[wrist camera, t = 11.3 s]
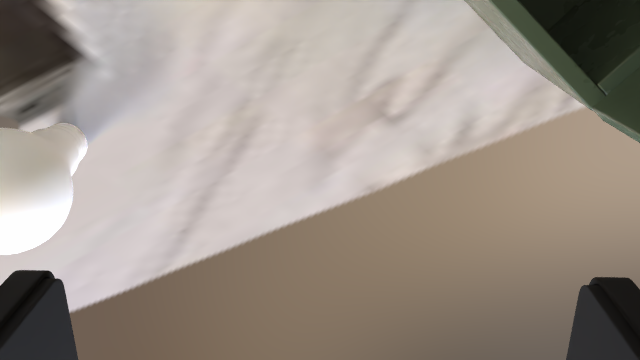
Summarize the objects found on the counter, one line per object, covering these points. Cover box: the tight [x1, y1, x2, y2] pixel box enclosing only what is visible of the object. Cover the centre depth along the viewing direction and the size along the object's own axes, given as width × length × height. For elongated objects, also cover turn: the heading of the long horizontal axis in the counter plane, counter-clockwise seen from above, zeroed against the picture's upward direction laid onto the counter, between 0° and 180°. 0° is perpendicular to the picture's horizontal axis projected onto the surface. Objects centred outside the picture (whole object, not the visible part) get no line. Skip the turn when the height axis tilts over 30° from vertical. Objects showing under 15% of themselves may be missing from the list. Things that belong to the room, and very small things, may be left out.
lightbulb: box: [0, 123, 88, 255], centre depth 31 cm, size 6×6×11 cm
